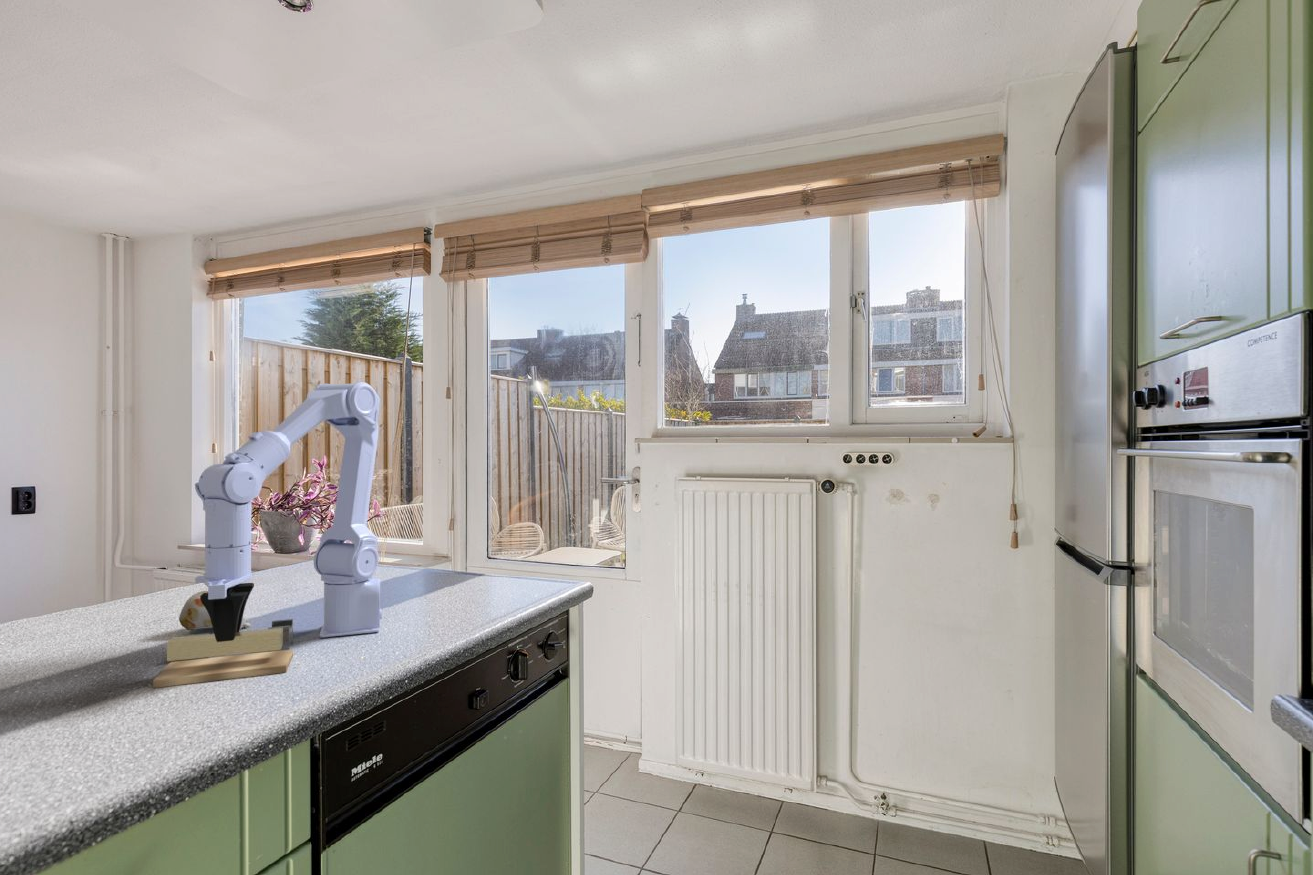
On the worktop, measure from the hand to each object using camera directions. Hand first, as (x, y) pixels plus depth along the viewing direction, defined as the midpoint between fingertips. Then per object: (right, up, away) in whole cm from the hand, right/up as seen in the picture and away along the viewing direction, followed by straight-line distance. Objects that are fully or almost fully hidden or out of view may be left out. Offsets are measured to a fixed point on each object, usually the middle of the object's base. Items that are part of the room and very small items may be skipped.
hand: (227, 637), depth 96 cm
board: (0, -5, 0) cm, 5 cm away
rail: (0, -2, 0) cm, 2 cm away
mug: (-15, -5, +20) cm, 25 cm away
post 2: (+1, -5, +11) cm, 12 cm away
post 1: (-9, -5, +7) cm, 12 cm away
